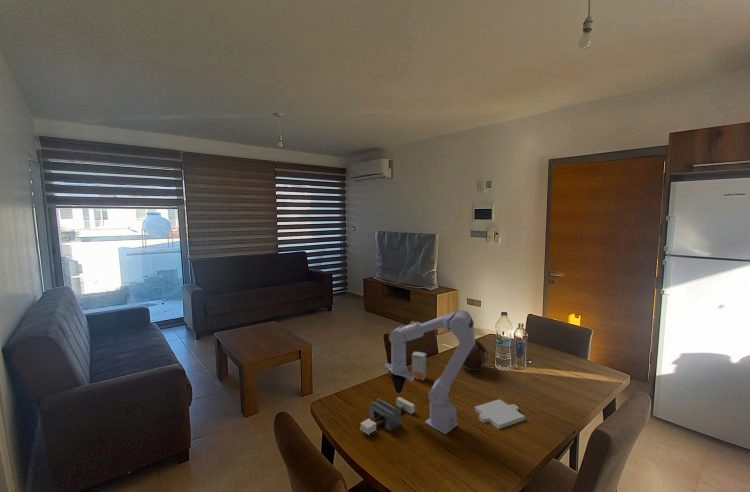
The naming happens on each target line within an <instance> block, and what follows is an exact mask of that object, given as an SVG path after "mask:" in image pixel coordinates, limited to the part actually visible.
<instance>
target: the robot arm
mask: <svg viewBox="0 0 750 492" xmlns="http://www.w3.org/2000/svg"><path fill="white" fill-rule="evenodd" d="M474 324H475V322H474V319H473V318H472V316H471V314H470V313H469V311H466V310H458V311H456V312H455V311H453V312H450V313H447V314H444V315H441V316H438V317H436V318H434V319H430V320H429V321H425V322H423V323H421V322H419V321H416V322H415V321H410V323H409V324H407V325H404V326H403V325H400V326H398V327H396V328H395V329H393V330H392V331H391V332H390V334H389V335H388V340H389V342H390V343H391V347H390V349H391V352H390V353H391V355H390V356H391V357H390V358H391V363H389V362H386V363H384V366H383V367H384V370H389V371H390V373H391V374H390V375H389V377H390V379H391V380H392V383H393V387H394V389H395V393H397V394H400V393H402V391H403V388H404V385H405V382H406V381H407V380H408V381H409V382H413V381H414V380H415V378H414V375H413V374H412V372H411V371H409V370H408V367H407V342H410V341H413V340H416V339H418V338H423V336H424V334H425V333H427V332H431V331H434V330H438V329H441V328H443V329H444V330H446V331H448V332H449V331H451V333H452V334H453V335H454V336H455V337H456V338H457V340H458V343H459V344H458V345H457V346H456V349H455V351H454V352H453V355H452V356H451V358H450V359H449V361H448V363H447V365H446V366H445V369H444V371H443V372H442V374H441V375H440V377H439V378H437V379H436V380H435V381H434V383H433V385H432V387H431V389H430V390H428V394H427V397H428V401H429V418H428V419H427V420H425V421H424V423H425V424H426V425H428V426H430V427H431V428H433V429H435V430H437V431H439V432H440V433H442V434H444V435H447V434H448V433H449V432H451V431H452V430H454V429H455V428H456V427H457V426H458V425H459V424H458V423H457V408H456V406H455V405H453V404H452V403H451V402H450V401H451V400H450V397H449V393H450V391H451V385H452V384H453V382H454V380H455V378H456V377H457V375H458V373H459V372H460V370H461V368H462V367H463V366H462V365H463V363H464V361H465V360H466V358H467V356H468V354H469V353H470V351H471V349H472V347H473V345H474V343H475V340H476V338H475V329H474V327H475V326H474Z"/></svg>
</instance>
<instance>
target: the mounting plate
mask: <svg viewBox="0 0 750 492" xmlns="http://www.w3.org/2000/svg"><path fill="white" fill-rule="evenodd" d="M474 411H475V412H476V413H477V414H478V415H479V416H478V420H479V421H480V422H482V423H490V424H492V425H493V426H494V427H495V428H496V429H498V430H500V429H503V428H505V427H509V426H512V425H515V424H517V423H519V422H523V421H525V420H526V419H525V418H526V416H525V415H524V414H522V413H521V412H519V406H518V405H516V404H508V403H506V402H504V401H503V400H501V399H500V398H499V399H496V400H492V401H490V402H489V401H488V402H485V403H482V404H479V405H477V406H476V405H475V406H474Z"/></svg>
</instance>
